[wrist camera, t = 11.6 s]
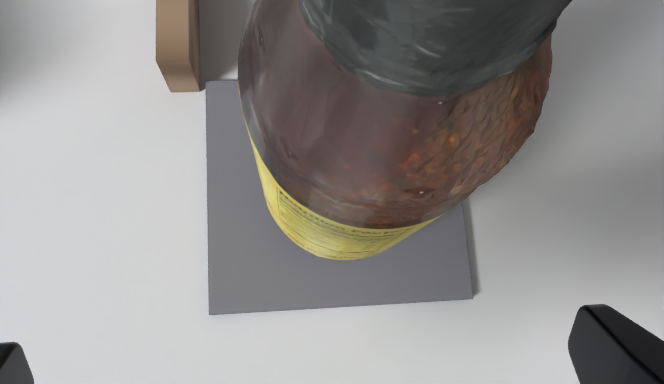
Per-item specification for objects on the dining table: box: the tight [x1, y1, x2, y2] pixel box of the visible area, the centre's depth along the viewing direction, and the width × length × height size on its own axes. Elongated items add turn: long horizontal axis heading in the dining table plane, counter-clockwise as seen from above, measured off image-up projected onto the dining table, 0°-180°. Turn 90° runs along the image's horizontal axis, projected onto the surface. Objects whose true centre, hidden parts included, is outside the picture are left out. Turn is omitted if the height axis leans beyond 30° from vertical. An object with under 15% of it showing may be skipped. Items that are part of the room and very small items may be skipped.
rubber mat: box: [206, 80, 473, 315], centre depth 24 cm, size 10×10×1 cm
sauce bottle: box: [238, 0, 572, 260], centre depth 14 cm, size 6×6×20 cm
